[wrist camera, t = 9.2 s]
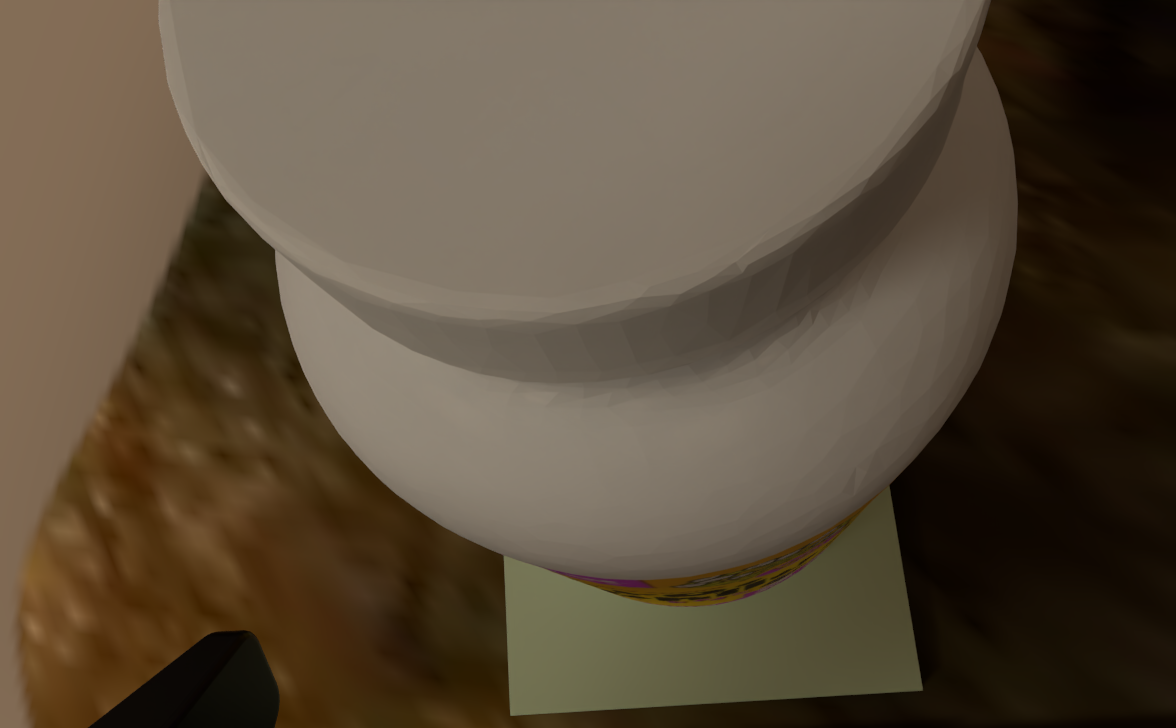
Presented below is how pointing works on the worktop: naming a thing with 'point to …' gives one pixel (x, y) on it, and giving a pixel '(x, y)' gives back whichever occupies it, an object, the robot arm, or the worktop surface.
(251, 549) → the worktop surface
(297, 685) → the worktop surface
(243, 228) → the worktop surface
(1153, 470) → the worktop surface
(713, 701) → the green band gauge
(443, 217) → the supplement bottle
